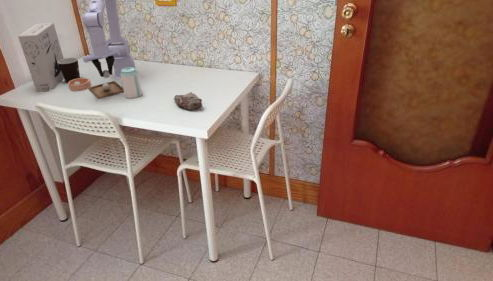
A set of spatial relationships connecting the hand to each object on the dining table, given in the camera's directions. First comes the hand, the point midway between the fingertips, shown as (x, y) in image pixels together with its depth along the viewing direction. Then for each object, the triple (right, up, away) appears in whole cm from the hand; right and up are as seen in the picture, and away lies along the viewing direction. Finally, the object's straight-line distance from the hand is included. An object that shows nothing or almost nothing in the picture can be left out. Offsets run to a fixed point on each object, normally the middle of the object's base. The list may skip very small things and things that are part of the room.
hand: (106, 75), depth 160 cm
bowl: (-16, -4, +12) cm, 20 cm away
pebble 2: (0, -1, 0) cm, 1 cm away
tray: (-2, -6, +8) cm, 10 cm away
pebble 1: (-16, -4, +10) cm, 20 cm away
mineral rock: (+35, -14, -7) cm, 39 cm away
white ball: (-2, -5, +7) cm, 9 cm away
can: (+11, -9, +2) cm, 14 cm away
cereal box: (-32, 0, +20) cm, 38 cm away
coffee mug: (-23, +1, +21) cm, 31 cm away
